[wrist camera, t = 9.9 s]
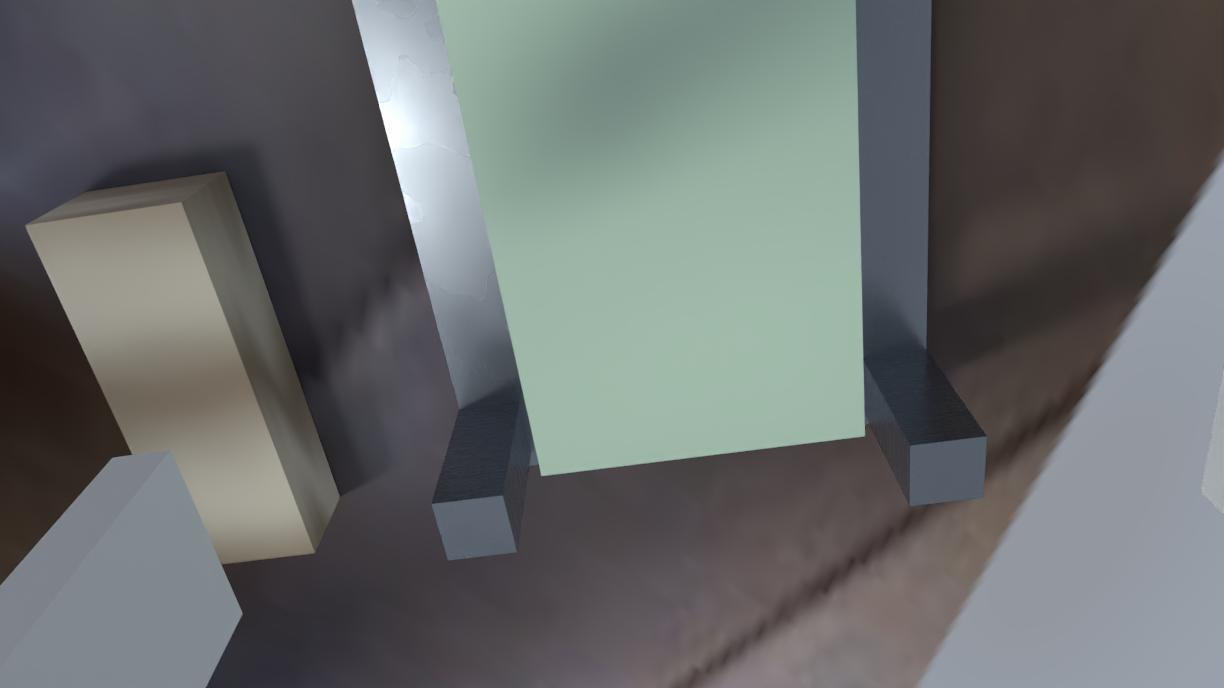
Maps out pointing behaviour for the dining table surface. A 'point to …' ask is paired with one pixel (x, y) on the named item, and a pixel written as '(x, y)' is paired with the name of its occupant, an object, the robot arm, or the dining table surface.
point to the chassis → (474, 312)
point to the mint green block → (670, 218)
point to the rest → (193, 355)
